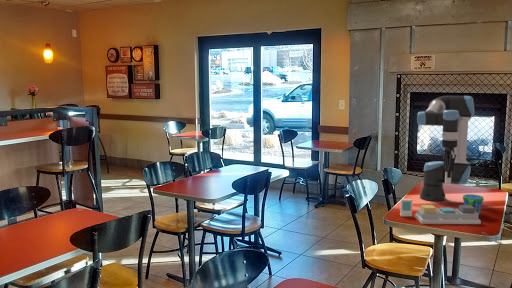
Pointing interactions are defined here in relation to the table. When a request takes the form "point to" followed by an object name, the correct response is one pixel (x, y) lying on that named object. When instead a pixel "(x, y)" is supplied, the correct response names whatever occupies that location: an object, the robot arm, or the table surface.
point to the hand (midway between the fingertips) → (447, 183)
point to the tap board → (447, 217)
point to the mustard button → (428, 209)
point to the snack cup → (473, 201)
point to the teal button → (447, 210)
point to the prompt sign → (406, 207)
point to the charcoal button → (466, 209)
